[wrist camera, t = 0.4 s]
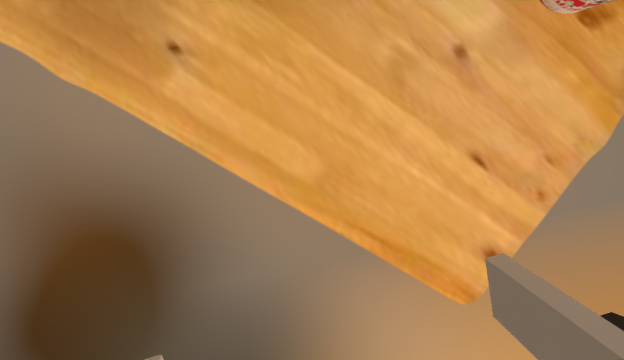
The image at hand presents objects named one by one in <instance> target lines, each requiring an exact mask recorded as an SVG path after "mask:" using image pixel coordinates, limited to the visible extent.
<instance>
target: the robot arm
mask: <svg viewBox="0 0 624 360" xmlns="http://www.w3.org/2000/svg"><path fill="white" fill-rule="evenodd" d="M485 260H486V267H487V275H488V282H489V290H490V296H491V304H492V311H493V317H495V319H497V320H498V322H499V323H501V324H502V325H503V326H504V327H505V328H506V329H507V330H508V331H509V332H510V333H511V334H512V335H513V336H514V337H515V338H516V339H517V340H518V341H519V342H520V343H521V344H522V345H523V346H524V347H525V348H526V349H528V350H529V351H530V352H531V353H532V354H533V355H534V356H535V357H536V358H537V359H538V360H624V317H623V316H620V315H618V314H615V313H612V312H611V313H607V314H604V315H601V316H599V315H598V314H596V313H595V312H593V311H592V310H590V309H589V308H587V307H585V306H584V305H582V304H581V303H579V302H578V301H576V300H575V299H573V298H572V297H570V296H568V295H567V294H565V293H564V292H562V291H561V290H559V289H558V288H556V287H555V286H553V285H552V284H550V283H549V282H547V281H545V280H544V279H542V278H541V277H539V276H538V275H536V274H535V273H533V272H532V271H530V270H528V269H527V268H525V267H524V266H522V265H520V264H519V263H518V262H516V261H514V260H513V259H511V258H510V257H508V256H507V255H505V254H504V253H502V254H499V255H495V256H492V257H489V258H485ZM145 360H163V357H162V355H158V356H155V357H152V358H149V359H145Z"/></svg>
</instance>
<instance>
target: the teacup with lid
mask: <svg viewBox="0 0 624 360" xmlns="http://www.w3.org/2000/svg"><path fill="white" fill-rule="evenodd" d="M541 1H542V2H543V3H544V5H545V6H547V7H548V8H549V9H550V10H552V11H554V12H557V13H562V14H570V13H575V12H578V11H581V10H585V9H588V8H591V7H594V6H597V5H601V4H604V3H607V2H610V1H614V0H541Z"/></svg>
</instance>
